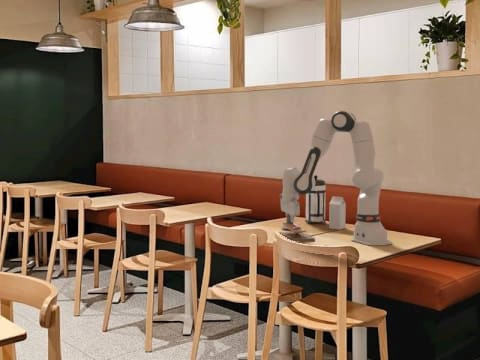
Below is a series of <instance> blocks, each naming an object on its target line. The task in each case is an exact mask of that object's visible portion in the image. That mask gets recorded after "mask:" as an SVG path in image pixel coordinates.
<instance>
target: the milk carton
mask: <svg viewBox="0 0 480 360" xmlns="http://www.w3.org/2000/svg"><path fill="white" fill-rule="evenodd" d="M328 205H329V206H328V207H329V208H328V209H329V210H328V212H329V214H328V219H329V221H328V223H329V224H328V225H329V226H328V228H329V229H330V230H331V229H332V230H343V229H346V217H347V216H346V212H347V211H346V208H347V207H346V206H347V204H346V202H345V199H344V197H343V196H342V197H341V196H335V195H334V196H331V200H330V202H329V203H328Z"/></svg>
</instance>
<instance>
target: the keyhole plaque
mask: <svg viewBox="0 0 480 360" xmlns="http://www.w3.org/2000/svg"><path fill="white" fill-rule="evenodd" d="M290 217H291V216H287V217H286V220H285V221H286V222H285V221H284V222H285V223H284V222H282V224H283V225H284V226H285V227H287V228H288V229H287V230H290V232H293V233H306V232H307V230H306V228H305V229H304V228H303V227H302V226H301V225H300V226H299V225H298V224H296V223H295V222H290ZM293 227H295V228H297V229H293Z"/></svg>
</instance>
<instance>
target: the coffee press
mask: <svg viewBox="0 0 480 360" xmlns="http://www.w3.org/2000/svg"><path fill="white" fill-rule="evenodd" d="M313 177H314V178H315V182H316V183H315V186H314V188H313V189H312V190H311V191H310V192H309V193H307V194H305V220H304V221H305V222H306V223H307V225H311V224H312V223H322V224H323V225H326V192H327V191H326V190H327V189H326V185H327V183H326V181H325V180H324V179H320V178H318V175H313Z"/></svg>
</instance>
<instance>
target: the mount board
mask: <svg viewBox="0 0 480 360" xmlns="http://www.w3.org/2000/svg"><path fill="white" fill-rule="evenodd" d="M279 233H280V234H282V235H283V236H285V237H287V238H288V239H290V240H293V241H301V242H300V243H306V242H310V243H311V242H316V238H315V237H314V236H311V235H309V234H306V233H305V232H302V233H293V232H292V231H280V232H278V234H279ZM288 239H287V240H288ZM290 240H289V241H290Z"/></svg>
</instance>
